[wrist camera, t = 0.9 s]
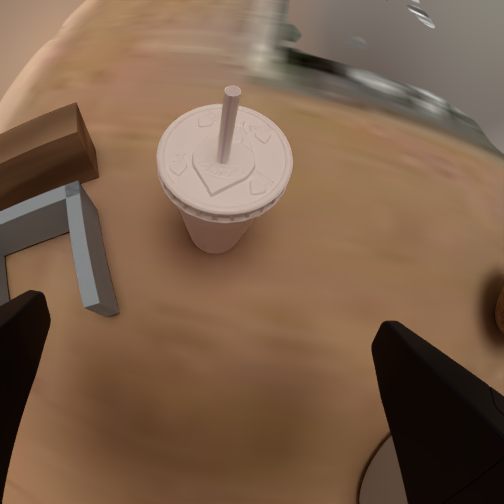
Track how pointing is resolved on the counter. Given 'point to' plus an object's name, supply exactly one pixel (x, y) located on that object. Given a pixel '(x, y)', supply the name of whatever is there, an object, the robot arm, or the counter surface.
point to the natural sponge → (500, 310)
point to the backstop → (45, 155)
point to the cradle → (56, 223)
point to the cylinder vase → (383, 478)
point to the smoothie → (223, 170)
